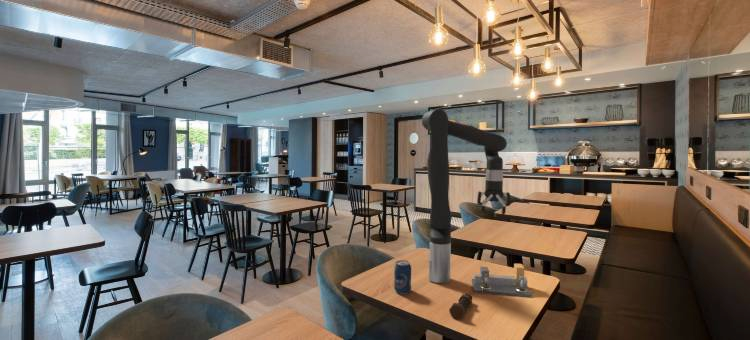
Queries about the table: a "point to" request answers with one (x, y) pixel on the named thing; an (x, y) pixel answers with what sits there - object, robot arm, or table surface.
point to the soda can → (402, 277)
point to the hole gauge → (499, 284)
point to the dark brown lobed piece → (461, 306)
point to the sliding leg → (519, 272)
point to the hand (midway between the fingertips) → (493, 214)
